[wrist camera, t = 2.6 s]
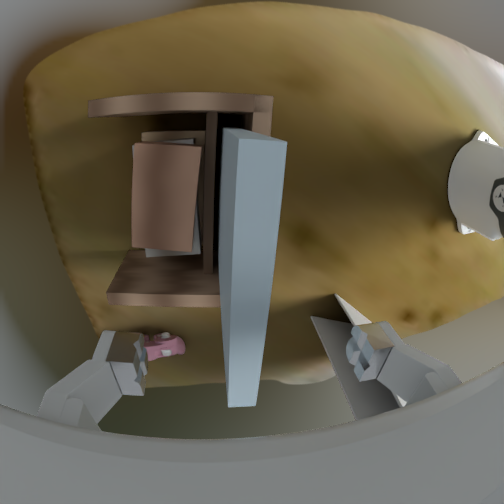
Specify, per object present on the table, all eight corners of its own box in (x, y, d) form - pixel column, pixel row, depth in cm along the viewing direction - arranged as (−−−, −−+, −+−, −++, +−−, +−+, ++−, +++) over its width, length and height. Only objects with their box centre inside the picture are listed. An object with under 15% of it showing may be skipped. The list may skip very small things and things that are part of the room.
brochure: (309, 317, 44) (385, 495, 17) (335, 293, 42) (434, 467, 16) (357, 347, 49) (426, 483, 22) (379, 328, 48) (460, 461, 21)
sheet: (236, 127, 30) (287, 142, 9) (230, 239, 36) (255, 405, 15) (221, 126, 30) (238, 138, 9) (217, 239, 36) (228, 407, 15)
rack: (256, 103, 29) (273, 96, 20) (245, 261, 38) (255, 306, 29) (123, 104, 27) (88, 100, 18) (130, 260, 36) (108, 304, 27)
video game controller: (182, 324, 43) (174, 336, 36) (188, 350, 43) (181, 366, 36) (126, 329, 43) (110, 341, 36) (132, 355, 43) (118, 370, 36)
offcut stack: (206, 130, 30) (203, 132, 23) (203, 235, 36) (201, 269, 28) (146, 131, 29) (124, 135, 22) (149, 235, 35) (133, 268, 27)
